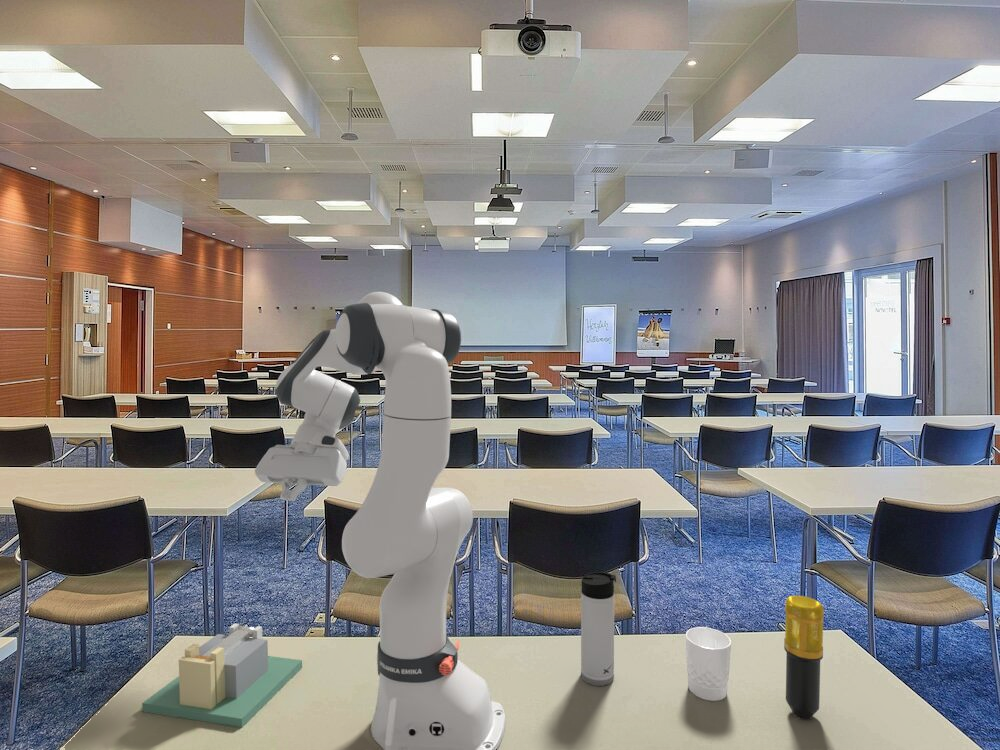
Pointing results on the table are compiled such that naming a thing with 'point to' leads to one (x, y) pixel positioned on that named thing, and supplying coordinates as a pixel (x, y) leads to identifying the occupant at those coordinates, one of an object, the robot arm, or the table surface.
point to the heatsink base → (224, 682)
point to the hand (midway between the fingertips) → (287, 499)
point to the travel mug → (597, 628)
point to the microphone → (803, 654)
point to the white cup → (708, 662)
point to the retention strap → (230, 641)
